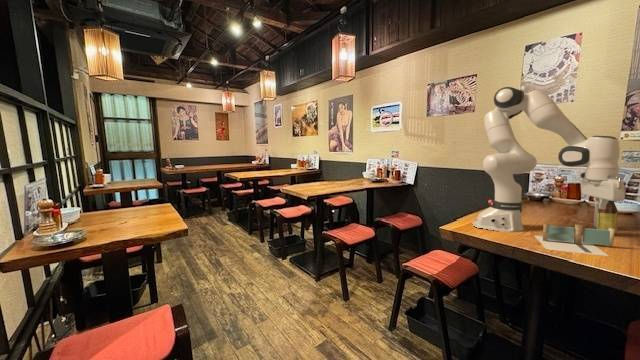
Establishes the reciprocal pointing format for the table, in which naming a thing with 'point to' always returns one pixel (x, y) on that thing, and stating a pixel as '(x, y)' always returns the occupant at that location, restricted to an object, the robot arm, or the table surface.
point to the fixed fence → (563, 233)
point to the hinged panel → (598, 236)
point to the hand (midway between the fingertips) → (600, 208)
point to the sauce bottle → (607, 217)
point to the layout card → (570, 246)
